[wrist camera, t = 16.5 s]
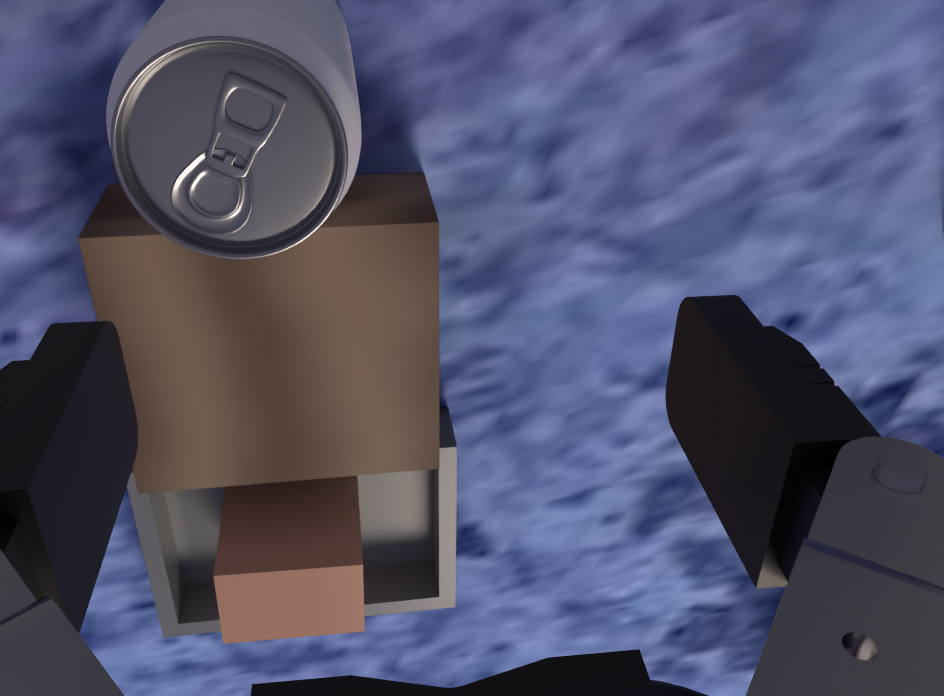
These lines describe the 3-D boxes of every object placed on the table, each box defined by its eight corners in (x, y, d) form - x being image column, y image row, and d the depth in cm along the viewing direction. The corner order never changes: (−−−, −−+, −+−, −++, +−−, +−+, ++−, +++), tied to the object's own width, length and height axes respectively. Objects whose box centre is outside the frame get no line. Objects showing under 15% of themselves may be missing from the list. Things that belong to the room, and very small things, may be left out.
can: (139, 87, 32) (57, 217, 22) (201, -90, 29) (139, -38, 19) (308, 161, 34) (305, 309, 24) (379, 2, 31) (409, 93, 21)
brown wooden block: (423, 172, 35) (438, 222, 31) (426, 400, 41) (439, 468, 36) (107, 184, 33) (77, 238, 29) (157, 419, 39) (138, 493, 35)
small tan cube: (363, 564, 36) (364, 631, 38) (357, 472, 41) (358, 535, 43) (213, 576, 35) (223, 643, 38) (226, 480, 41) (234, 544, 43)
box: (448, 407, 41) (456, 447, 38) (447, 563, 46) (455, 606, 44) (136, 430, 39) (123, 473, 37) (172, 590, 44) (163, 637, 42)
